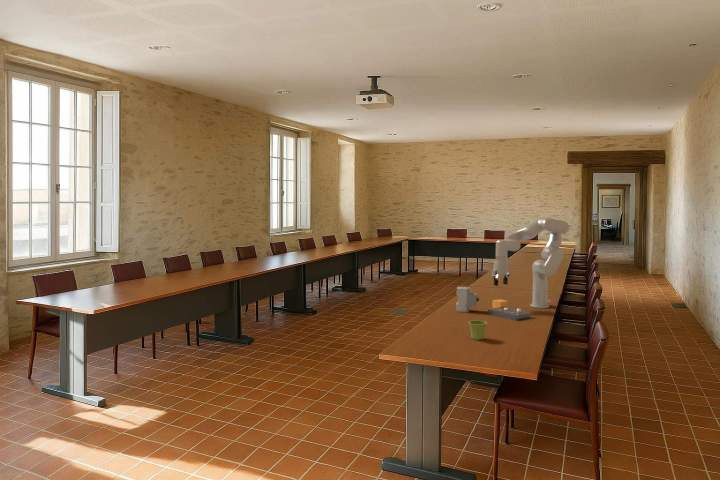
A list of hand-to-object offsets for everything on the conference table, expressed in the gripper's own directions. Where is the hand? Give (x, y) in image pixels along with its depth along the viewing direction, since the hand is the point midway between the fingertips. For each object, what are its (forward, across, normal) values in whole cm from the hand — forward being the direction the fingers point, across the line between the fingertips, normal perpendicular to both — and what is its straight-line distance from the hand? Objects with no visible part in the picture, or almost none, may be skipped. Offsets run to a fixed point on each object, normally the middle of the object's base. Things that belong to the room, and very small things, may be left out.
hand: (500, 284), depth 360 cm
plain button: (+14, +9, +23) cm, 29 cm away
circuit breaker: (+16, +23, -7) cm, 29 cm away
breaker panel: (+16, +11, +17) cm, 26 cm away
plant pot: (+16, +68, +45) cm, 83 cm away
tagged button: (+16, +9, +13) cm, 22 cm away
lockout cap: (+16, 0, 0) cm, 16 cm away
